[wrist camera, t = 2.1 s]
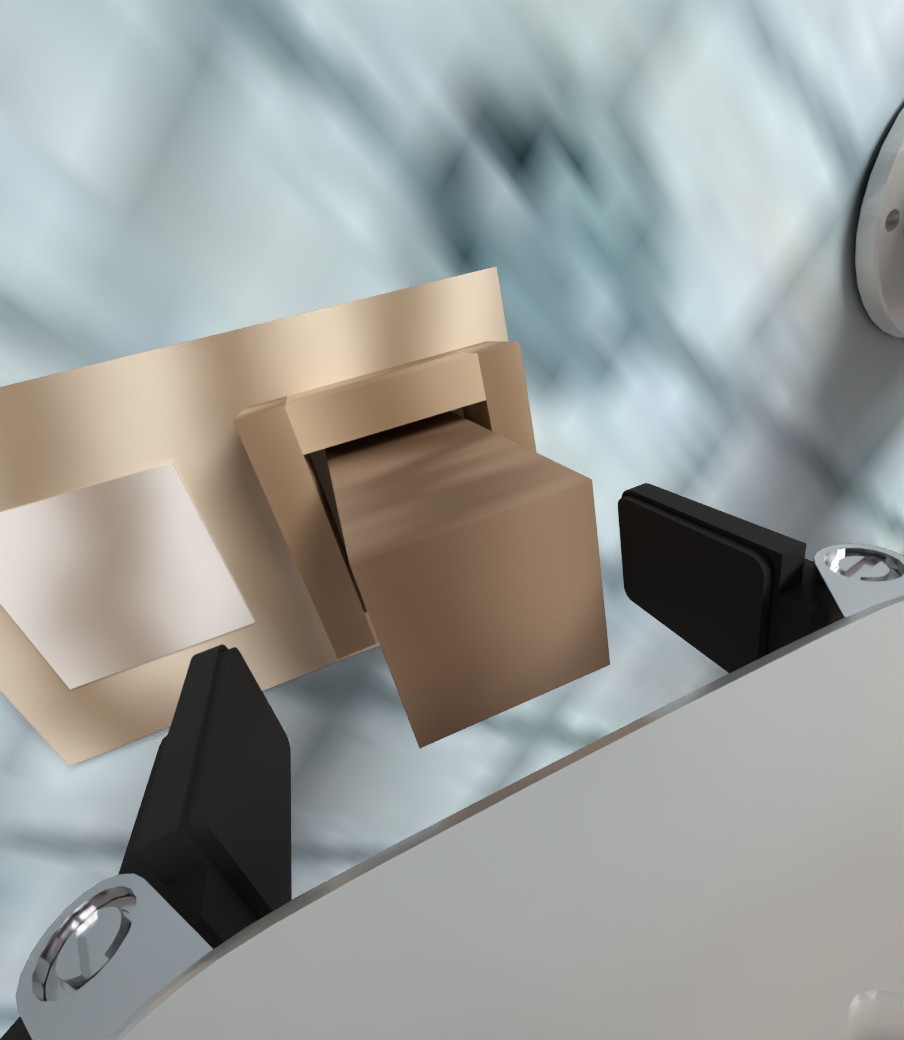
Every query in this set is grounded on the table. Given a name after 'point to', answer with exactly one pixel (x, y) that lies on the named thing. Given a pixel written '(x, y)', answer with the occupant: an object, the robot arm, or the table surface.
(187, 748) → the robot arm
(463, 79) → the table surface
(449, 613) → the walnut block
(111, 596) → the pocket board
